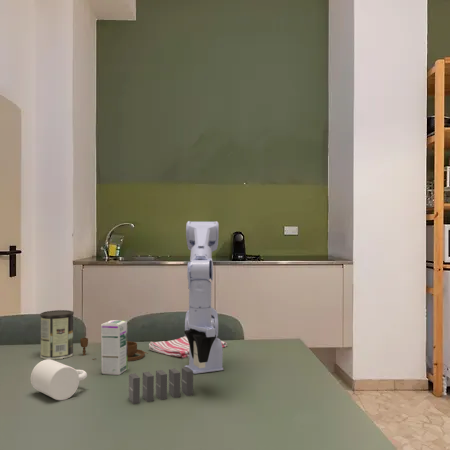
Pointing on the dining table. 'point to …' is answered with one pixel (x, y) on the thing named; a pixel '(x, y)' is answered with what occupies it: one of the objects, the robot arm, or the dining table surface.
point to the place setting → (130, 349)
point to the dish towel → (174, 347)
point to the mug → (56, 379)
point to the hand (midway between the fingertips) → (199, 359)
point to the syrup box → (114, 347)
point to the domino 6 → (196, 361)
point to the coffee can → (56, 334)
